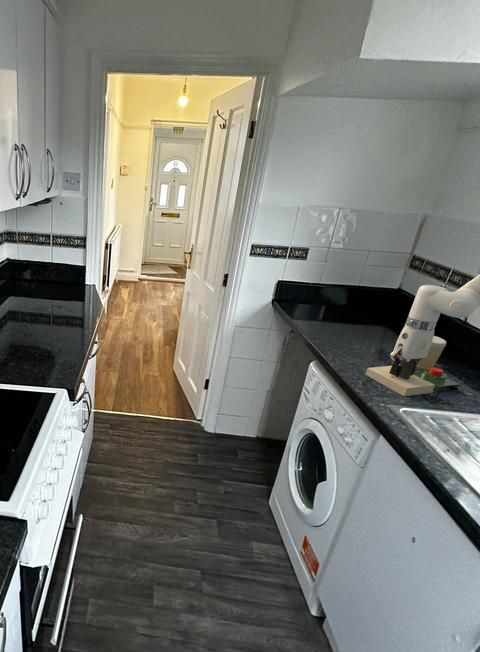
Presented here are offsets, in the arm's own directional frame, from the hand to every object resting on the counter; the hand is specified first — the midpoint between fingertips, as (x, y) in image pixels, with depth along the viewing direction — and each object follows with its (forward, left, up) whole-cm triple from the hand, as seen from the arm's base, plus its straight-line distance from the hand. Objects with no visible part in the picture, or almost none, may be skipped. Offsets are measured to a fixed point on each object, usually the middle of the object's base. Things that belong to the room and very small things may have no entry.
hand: (401, 373), depth 140 cm
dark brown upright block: (0, 0, -1) cm, 1 cm away
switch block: (-2, -13, -4) cm, 14 cm away
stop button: (-2, -13, 0) cm, 13 cm away
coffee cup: (+9, -21, -4) cm, 23 cm away
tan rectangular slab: (0, 0, -4) cm, 4 cm away
